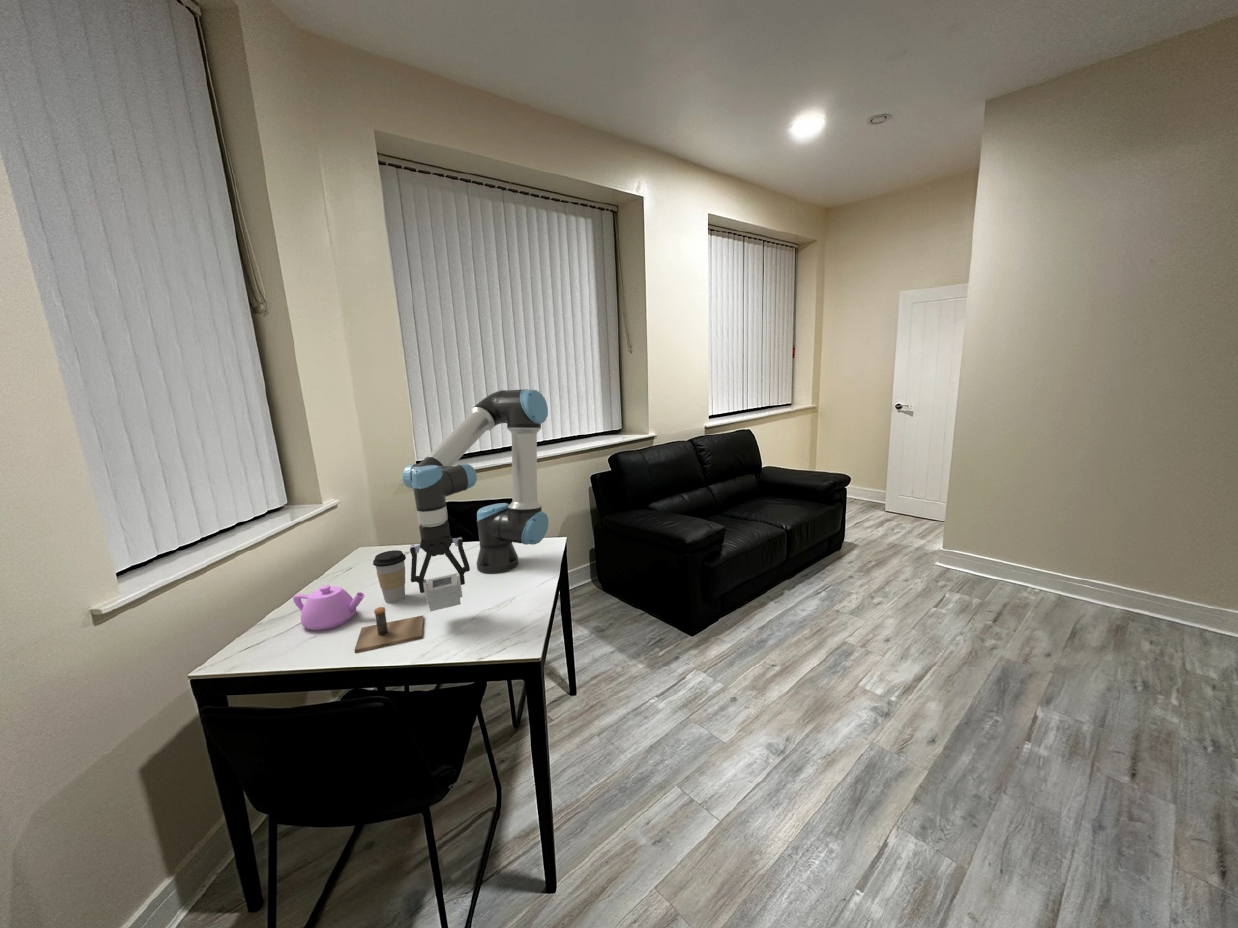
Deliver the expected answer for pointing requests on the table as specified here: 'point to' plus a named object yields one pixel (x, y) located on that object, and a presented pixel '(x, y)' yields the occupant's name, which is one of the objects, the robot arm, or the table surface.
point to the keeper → (389, 631)
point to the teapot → (327, 607)
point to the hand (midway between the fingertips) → (444, 598)
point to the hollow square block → (443, 592)
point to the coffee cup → (391, 575)
